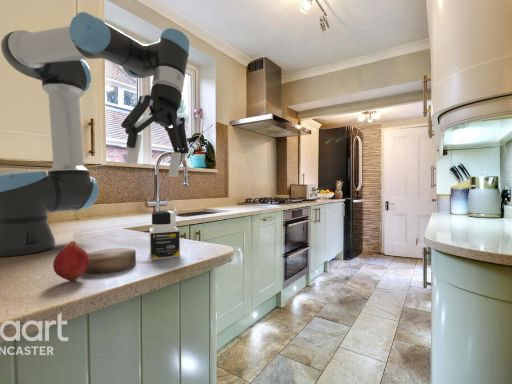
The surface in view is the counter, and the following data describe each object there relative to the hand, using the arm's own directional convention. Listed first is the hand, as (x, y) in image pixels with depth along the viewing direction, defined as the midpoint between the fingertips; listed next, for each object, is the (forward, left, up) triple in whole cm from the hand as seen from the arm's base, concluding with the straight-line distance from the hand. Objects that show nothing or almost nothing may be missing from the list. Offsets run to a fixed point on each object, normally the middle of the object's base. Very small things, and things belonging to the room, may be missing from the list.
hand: (154, 170), depth 67 cm
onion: (+12, -14, -23) cm, 29 cm away
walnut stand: (+3, -10, -22) cm, 25 cm away
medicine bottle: (-5, +1, -23) cm, 23 cm away
